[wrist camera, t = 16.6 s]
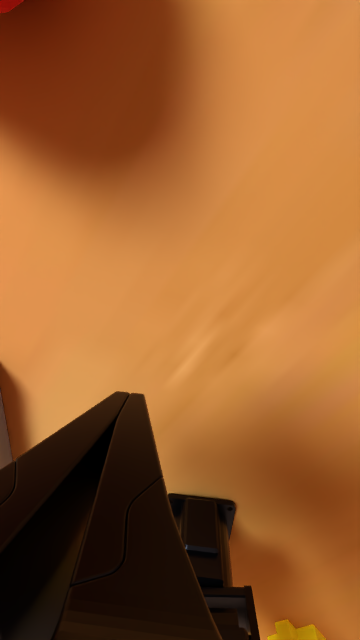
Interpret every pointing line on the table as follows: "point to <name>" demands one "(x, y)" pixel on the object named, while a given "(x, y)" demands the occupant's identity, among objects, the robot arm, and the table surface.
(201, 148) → the table surface
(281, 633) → the yellow crystal cluster
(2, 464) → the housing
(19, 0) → the tomato
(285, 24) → the table surface
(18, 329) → the table surface
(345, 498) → the table surface
